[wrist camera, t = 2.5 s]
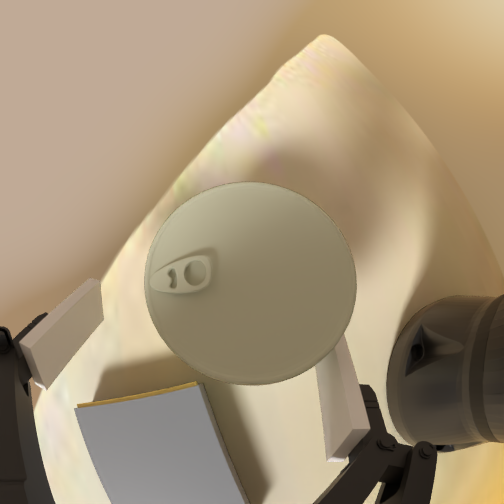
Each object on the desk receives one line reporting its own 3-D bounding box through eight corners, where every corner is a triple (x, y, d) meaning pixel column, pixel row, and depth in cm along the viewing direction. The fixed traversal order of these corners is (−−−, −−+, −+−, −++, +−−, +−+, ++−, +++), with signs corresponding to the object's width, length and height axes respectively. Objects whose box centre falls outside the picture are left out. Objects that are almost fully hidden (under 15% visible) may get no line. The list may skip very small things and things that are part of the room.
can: (180, 269, 24) (141, 185, 13) (289, 257, 25) (332, 169, 14) (191, 382, 20) (147, 398, 9) (309, 366, 21) (383, 360, 10)
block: (201, 379, 20) (196, 381, 18) (256, 516, 16) (259, 532, 13) (90, 401, 19) (72, 404, 16) (145, 531, 14) (137, 546, 11)
